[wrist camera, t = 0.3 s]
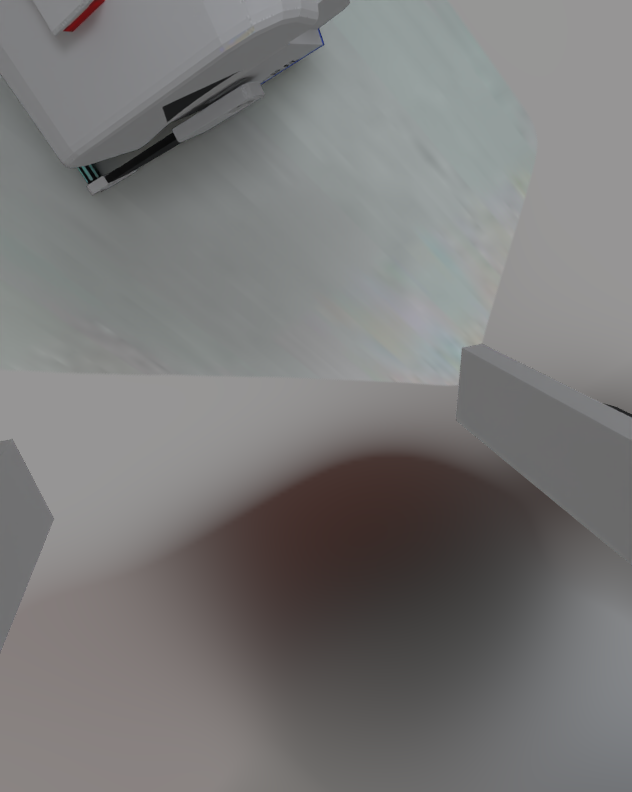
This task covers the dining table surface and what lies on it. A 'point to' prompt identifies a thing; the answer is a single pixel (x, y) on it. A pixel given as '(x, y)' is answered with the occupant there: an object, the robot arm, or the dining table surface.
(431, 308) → the dining table surface
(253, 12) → the robotic device
